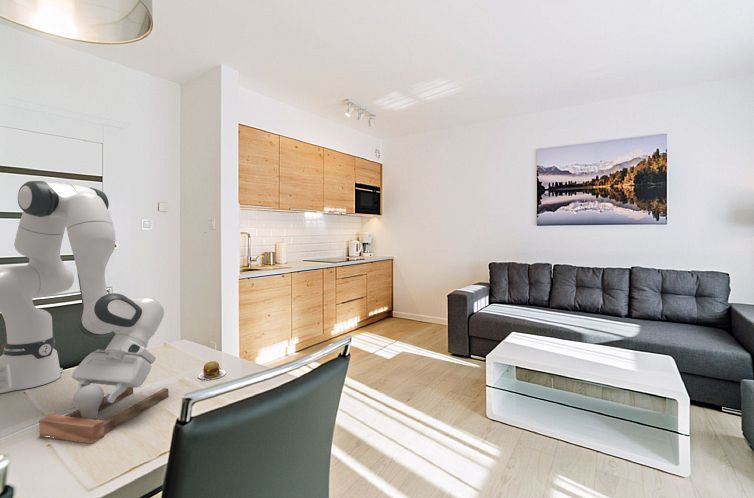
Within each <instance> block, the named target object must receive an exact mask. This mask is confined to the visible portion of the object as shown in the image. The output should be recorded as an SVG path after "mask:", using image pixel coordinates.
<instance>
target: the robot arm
mask: <svg viewBox="0 0 754 498" xmlns="http://www.w3.org/2000/svg"><path fill="white" fill-rule="evenodd" d="M17 203H18V206H19V209H21V210H22V215H21V218H20V220H19V224H18V227H17V230H16V234H15V239H14V243H13V245H14V246H13V247H14V248H15V251H17V252H18V253H19V254H20V255H21V256H23V257H25V258H28V260H29V261H28V263H27V264H25V265H18V266H17V265H15V266H3V267H0V314H1V315H2V318H3V320H4V325H5V331H6V343H2V344H1V349H3V352H2V355H0V394H3V393H8V392H13V391H19V390H25V389H30V388H34V387H35V388H36V387H39V386H43V385H46V384H49V383H52V382H54V381H56V380H58V379H60V377H61V376H62V375H61V373H63V370H64V369H63V367H60V363H59V362H60V360H59V355H58V351H57V349H55V346H56V339H55V336H54V335H53V334H54V333H53V331H54V330H53V317H52V315H51V313H50V312H49V311H47V310H46V309H42V308H38V307H36V306H35V304H34V302H33V299H34V298H35V299H36V298H41V297H49V296H54V295H56V294H61V293H63V292H66V291H68V290H70V289H71V288H72V286H73V284H74V282H75V276H74V275H75V274H74V272H73V271H72V269H71V268H70V267H69V266H67V265H66V264H65V263H64V262H63V260H62V258H61V250H62V249H61V248H62V243H63V239H64V234H65V231H66V232H67V237H68V240H69V243H70V247H71V251H72V254H73V258H74V263H75V266H76V272H77V280H78V285H79V291H80V298H81V309H80V310H81V311H80V313H79V317H78V322H77V323H78V328H79V330H80V331H81V332H82V333H83V335H85V336H88V337H89V338H93V339H103V338H107V337H109V336H111V335H113V333H115V335H114V336H113V338H112V339H111V341H110V342H109V343H108V344H107V346H106V348H105V349H102V348H99V349H96V350H94V351H92V352H90V353H89V354H88V355H87V356H85V357H84V359H83V360H81V362H80V363H79V364H78V365H77V367H75V369H74V371H73V372H72V373H71V378H72V379H74V380H75V381H77V382H78V387H77V391H78V390H79V389H81V388H82V387H84V386H87V385H92V384H93V385H105V386H115V389H114V390H113V391H112V392H110V393H107V394H106V395H105V396H106V398H105V401H106V402H108V403H113V402H114V401H115V399H116V398H117V397H118V396H119V395H120V394H121V393H123V392H124V391H125V390H126V388H127V387H133V389H137V388H139V387H141V386H142V385H143V384H144V383H145V381H146V379H147V377H148V375H149V374H150V372H151V369H152V365H153V364H154V363H155V361H156V360H157V356H155V355H154V353H152V352H151V351H150V350H148V349H147V348H148V344H149V342H150V340H151V339H152V337H153V336H154V335H155V334H156V332H157V331H158V329H159V327H160V325H161V323H162V321H163V318H164V315H165V309H164V307H163V306H162V304H161V303H160V302H158V301H157V300H155V299H154V298H151V297H143V298H138V297H137V298H136V297H129V296H126V295H123V294H120V293H108V289H107V284H106V278H105V274H106V273H105V272H106V267H107V264H108V263H109V260H110V258H111V256H112V254H113V252H114V250H115V249H116V232H115V227H114V224H113V220H112V216H111V214H110V211H109V199H108V197H107V195H106V193H105V192H103V191H102V190H100V189H97V188H93V187H87V186H83V185H78V184H72V183H62V182H49V181H48V182H47V181H43V180H31V181H26V182H25V183H24V184H22V185H21V186H20V188H19V190H18V193H17ZM18 253H17V254H18ZM113 404H114V403H113Z"/></svg>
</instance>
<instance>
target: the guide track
mask: <svg viewBox="0 0 754 498" xmlns="http://www.w3.org/2000/svg"><path fill="white" fill-rule="evenodd" d="M133 394H134V387H127V388H126V390H125V391H124V392H123V393H121V394H120V395H119V396H118V397H117V398H116V399H115V401H114V402H113V403H108V402H106V401H105V398H106V396H107V395H104V398H103V400H102V402H101V404H100V406H99V408H98V412H99V411H101V410H103V409H105V408H107V407H109V406H112V405H114V404H115V403H117V402H119V401H121V400H123V399H126V398H127V397H129V396H130V395H133ZM168 398H169V388H162V389H160V390H159V391H158V390H157V391H156V392H154V393H153V394H150V395H149V396H148V397H147V396H146V397H145V398H144V399H142V400H140V401H138V402H137V403H134V404H132V405H131V406H129V407H127V408H125V409H124V410H122V411H120V412H118V413H116V414H115V415H113V416H111V417H109V418H107V419H106V420H102V419H97V420H94V419H85V418H82V415H81V412H80V411H79V410H78V409H75V410H74V411H72V412H69V413H68V414H66V415H59V414H50V415H48V416H46V417H43V418H41V419H40V420H39V421H38V424H39V427H38V429H39V437H42V438H44V437H43V436H50V437H54V438H53V439H55V438H58V440H62V439H63V440H64V441H72V442H79V443H85V444H86V443H87V444H94V443H95V442H97V441H99V440H101V439H102V438H104V437H105V435H106V434H108V433H109V432H111V431H112V430H114V429H116V428H118V427H119V426H122V425H123V424H125V423H127V422H128V421H130V420H132V419H133V418H134V417H136V416H139V415H140V414H141V413H143V412H145V411H147V410H149V409H150V408H152V407H154V406H155V405H157V404H158V403H160V402H162V401H164V400H165V399H168Z"/></svg>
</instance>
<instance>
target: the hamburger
mask: <svg viewBox="0 0 754 498" xmlns="http://www.w3.org/2000/svg"><path fill="white" fill-rule="evenodd" d="M202 370H203V371H202V372H200V373H199V374H198V376H197V377H198V379H201V380H203V378H202V376H204V379H205V380H206V381H207V380H208V381H210V379H212V380H216V379H220V378H221V377H223V376H225V375H226V374H227V372H226V370H225V369H221V367H220V363H219V362H218V361H215V360H214V361H213V360H210V361H208V362H206V363H205V364H204V365H203V369H202ZM220 373H223V374H222V375H221V376H220ZM202 374H203V375H202ZM201 375H202V376H201ZM205 380H204V381H205Z"/></svg>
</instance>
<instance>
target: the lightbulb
mask: <svg viewBox="0 0 754 498" xmlns="http://www.w3.org/2000/svg"><path fill="white" fill-rule="evenodd" d="M104 397H105V392H104V389H103V388H102V387H101V386H99V385H98V384H90V385H87V386H84V387H82V388H81V389H79V390H78V389H77V390H76V393H75V394H74V395H73V404H74V406H75V407H76V408H77V409H76V410H79V411H80V412H81V415H82V418H85V419H94V420H98V419H97V416H98V412H99V411H98V408H99V406H100V404H101V402H102V400H103V398H104Z"/></svg>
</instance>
